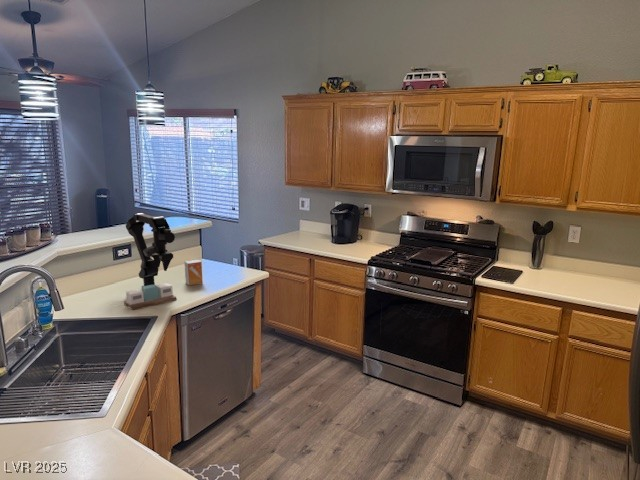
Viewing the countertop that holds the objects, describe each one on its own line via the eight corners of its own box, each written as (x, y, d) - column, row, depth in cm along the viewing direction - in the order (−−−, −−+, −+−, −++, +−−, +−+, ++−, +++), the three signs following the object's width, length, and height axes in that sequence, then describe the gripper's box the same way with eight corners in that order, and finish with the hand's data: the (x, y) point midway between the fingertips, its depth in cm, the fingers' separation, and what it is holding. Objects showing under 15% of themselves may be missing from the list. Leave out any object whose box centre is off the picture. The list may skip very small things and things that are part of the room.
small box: (189, 285, 250) (187, 263, 248) (185, 283, 256) (184, 261, 253) (203, 283, 255) (201, 261, 252) (199, 280, 260) (198, 259, 257)
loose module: (142, 298, 224) (141, 286, 223) (154, 295, 228) (153, 284, 227) (146, 300, 220) (145, 289, 219) (158, 297, 224) (157, 286, 223)
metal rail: (126, 302, 219) (125, 301, 219) (168, 292, 234) (168, 291, 234) (130, 305, 215) (130, 304, 215) (173, 295, 229) (173, 294, 229)
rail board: (124, 303, 222) (123, 301, 221) (166, 294, 236) (166, 291, 236) (133, 310, 213) (132, 307, 213) (176, 299, 228) (176, 297, 227)
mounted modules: (126, 301, 219) (126, 291, 218) (167, 292, 233) (167, 283, 232) (131, 304, 215) (130, 294, 214) (173, 295, 229) (172, 285, 228)
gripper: (137, 240, 235) (139, 268, 238) (151, 245, 221) (153, 275, 224) (157, 237, 242) (160, 264, 245) (172, 242, 228) (174, 271, 232)
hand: (161, 269), depth 236 cm, fingers open, 9 cm apart
